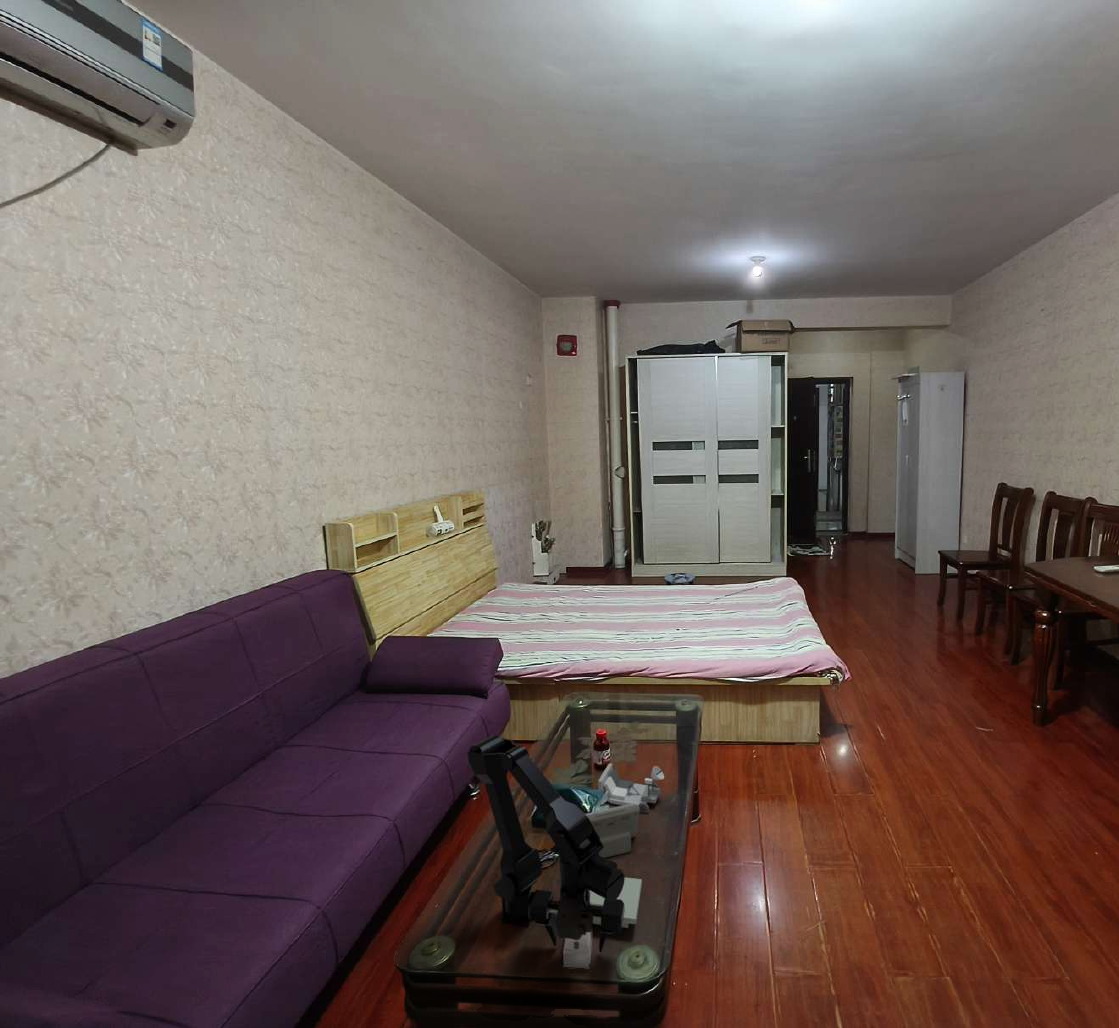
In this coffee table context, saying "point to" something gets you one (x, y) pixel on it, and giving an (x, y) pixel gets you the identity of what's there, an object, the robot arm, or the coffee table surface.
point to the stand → (629, 898)
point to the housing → (578, 951)
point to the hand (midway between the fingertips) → (578, 947)
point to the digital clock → (615, 828)
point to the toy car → (630, 788)
